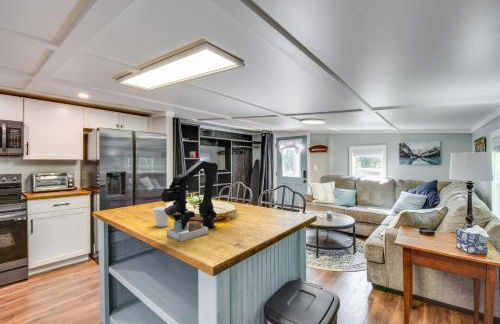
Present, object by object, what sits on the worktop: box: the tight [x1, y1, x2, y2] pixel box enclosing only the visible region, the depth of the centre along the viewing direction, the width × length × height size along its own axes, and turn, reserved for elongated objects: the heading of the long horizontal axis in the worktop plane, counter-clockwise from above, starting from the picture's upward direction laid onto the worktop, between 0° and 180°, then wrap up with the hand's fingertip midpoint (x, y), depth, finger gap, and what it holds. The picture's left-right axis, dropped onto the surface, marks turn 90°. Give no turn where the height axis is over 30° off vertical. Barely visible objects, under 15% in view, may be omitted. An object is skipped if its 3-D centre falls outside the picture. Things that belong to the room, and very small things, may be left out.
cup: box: [152, 206, 169, 228], centre depth 157 cm, size 10×10×11 cm
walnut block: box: [187, 220, 202, 232], centre depth 142 cm, size 5×5×5 cm
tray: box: [166, 224, 209, 242], centre depth 139 cm, size 18×13×4 cm
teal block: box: [173, 220, 188, 232], centre depth 135 cm, size 5×5×5 cm
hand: (180, 228), depth 135 cm, fingers closed on teal block, 5 cm apart
